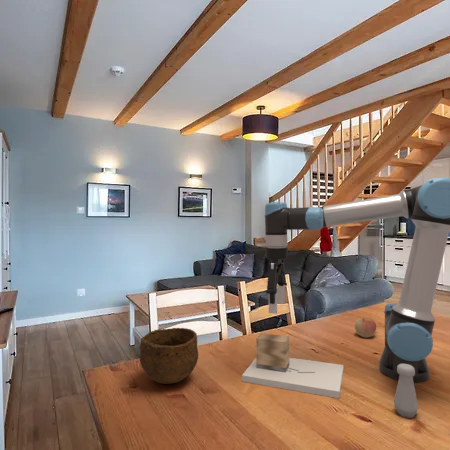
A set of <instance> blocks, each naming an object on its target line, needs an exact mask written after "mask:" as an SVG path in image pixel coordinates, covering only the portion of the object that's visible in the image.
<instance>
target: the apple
mask: <svg viewBox="0 0 450 450" xmlns="http://www.w3.org/2000/svg"><path fill="white" fill-rule="evenodd" d="M354 323H355V324H354V330H355V332H356V333H357V335H359V336H361V337H362V338H365V339H366V338H371V337H373V336H374V335H375V333H376V331H377V324H376V322H375V320H374V319H373V318H372V317H371V318H370V317H360V318H358V319H356V321H355V322H354Z"/></svg>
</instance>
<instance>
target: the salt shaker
mask: <svg viewBox="0 0 450 450" xmlns="http://www.w3.org/2000/svg"><path fill="white" fill-rule="evenodd" d="M397 372H398V374H400V376H399V380H398V382H397V385H396V390H395V395H394V399H393V404H394V405H393V406H394V408H395V410H396V412H397V414H398V415H399V416H401V417H402V418H403V417H404V418H407V419H411V418H413V417H415V416H416V414H417V413H418V410H419V404H418V399H417V392H416V389H415V382H413V376H414V375H415V369H414V367H413V366H411V365H409V364H399V365H398V366H397Z"/></svg>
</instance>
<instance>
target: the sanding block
mask: <svg viewBox="0 0 450 450" xmlns="http://www.w3.org/2000/svg"><path fill="white" fill-rule="evenodd" d="M255 343H256V345H255V348H256V350H255V355H256V357H255V358H256V368H259V369H266V370H272V371H279V372H285V373H286V371H287V369H288V367H289V358H290V335H289V336H288V335H287V336H286V335H280V334H279V335H278V334H270V333H263V332H262V333H260V334H259V335H258V336H257V337H256V339H255Z"/></svg>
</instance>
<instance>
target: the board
mask: <svg viewBox="0 0 450 450" xmlns="http://www.w3.org/2000/svg"><path fill="white" fill-rule="evenodd" d="M344 370H345V369H344V364H339V363H331V362H322V361H316V360H309V359H304V358H303V359H302V358H295V357H289V367H288V369H287V371H286V373H285V372H279V371H272V370H266V369H259V368H256V357H255V358H254V359H253V361H252V362H251V363H250V364H249V366H248V367H247V368H246V370H245V371H244V372H243V373H242V375H241V382H244V383H249V384H255V385H261V386H265V387H272V388H277V389H282V390H283V389H284V390H289V391H294V392H300V393H306V394H311V395H312V394H313V395H317V396H324V397H329V398H330V397H331V398H334V399H340V397H341V392H342V391H341V390H342V385H343V383H342V382H343V377H344V376H343V375H344V372H345V371H344Z"/></svg>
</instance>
